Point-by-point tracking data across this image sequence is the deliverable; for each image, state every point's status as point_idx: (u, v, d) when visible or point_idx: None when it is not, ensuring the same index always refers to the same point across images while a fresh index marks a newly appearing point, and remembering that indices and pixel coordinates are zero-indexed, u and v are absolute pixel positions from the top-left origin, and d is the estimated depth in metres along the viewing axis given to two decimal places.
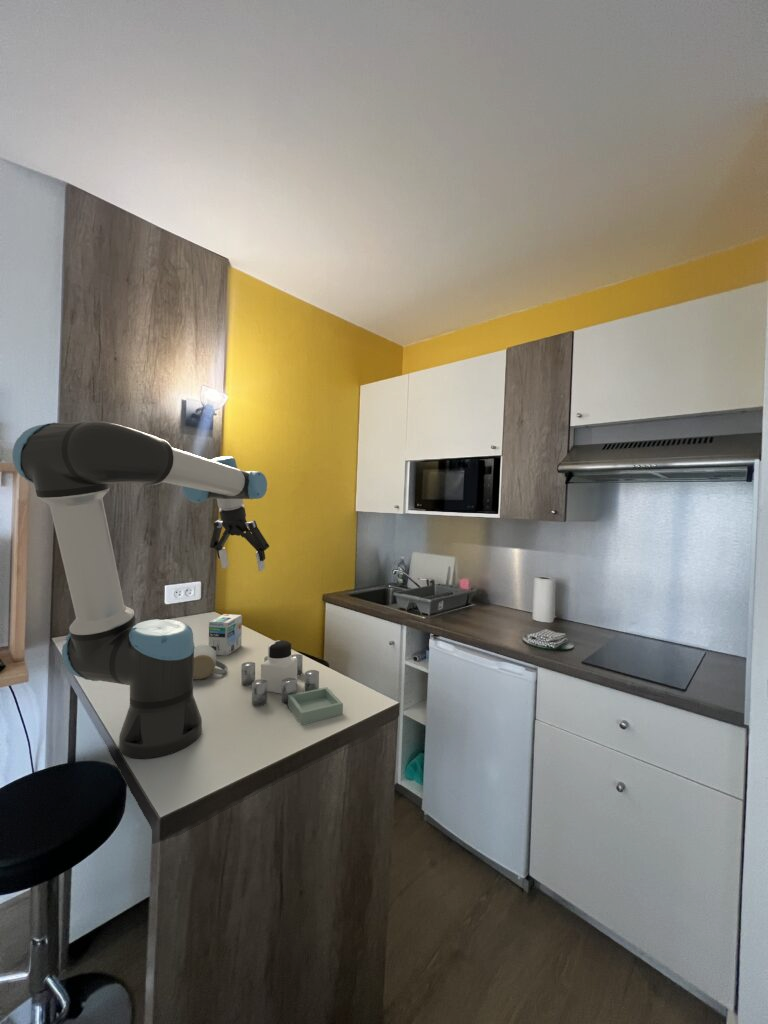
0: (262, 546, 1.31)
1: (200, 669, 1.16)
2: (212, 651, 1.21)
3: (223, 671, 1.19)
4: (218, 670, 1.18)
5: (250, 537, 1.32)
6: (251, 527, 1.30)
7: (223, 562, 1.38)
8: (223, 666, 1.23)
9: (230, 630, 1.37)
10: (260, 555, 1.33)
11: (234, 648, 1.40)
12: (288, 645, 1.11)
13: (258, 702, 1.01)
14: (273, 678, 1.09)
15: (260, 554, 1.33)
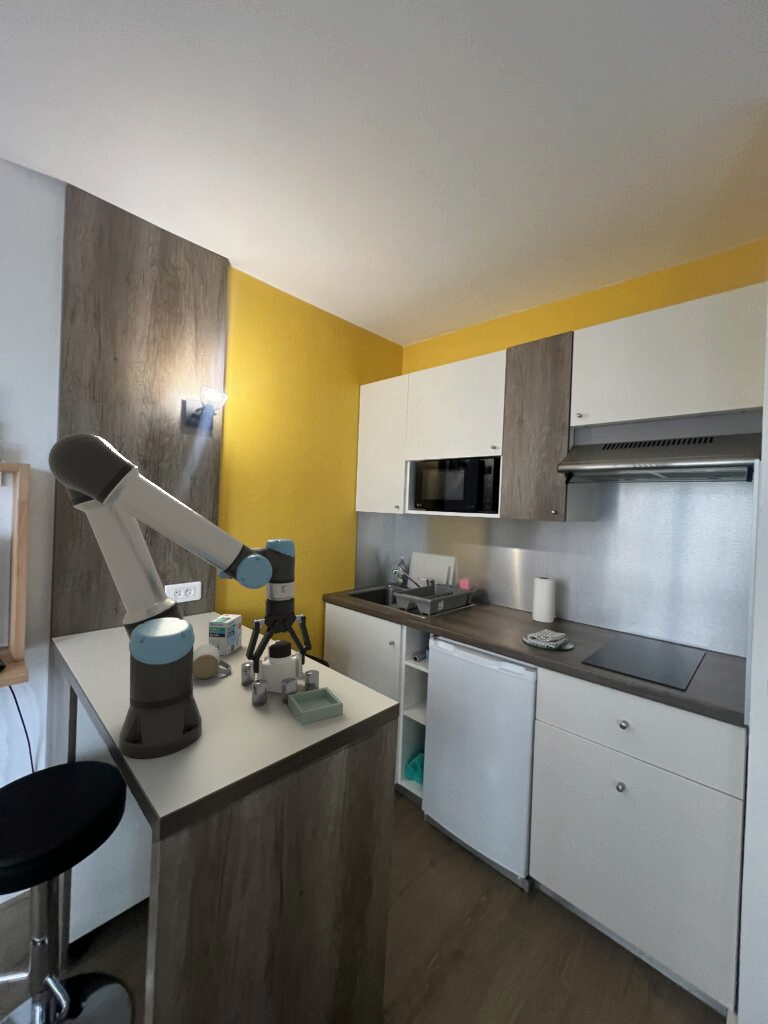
0: None
1: (204, 668, 1.16)
2: (216, 651, 1.22)
3: (227, 670, 1.20)
4: (222, 669, 1.19)
5: (263, 638, 1.10)
6: None
7: None
8: (227, 666, 1.23)
9: (230, 630, 1.37)
10: None
11: (234, 648, 1.40)
12: (288, 645, 1.11)
13: (258, 702, 1.01)
14: (273, 678, 1.09)
15: None
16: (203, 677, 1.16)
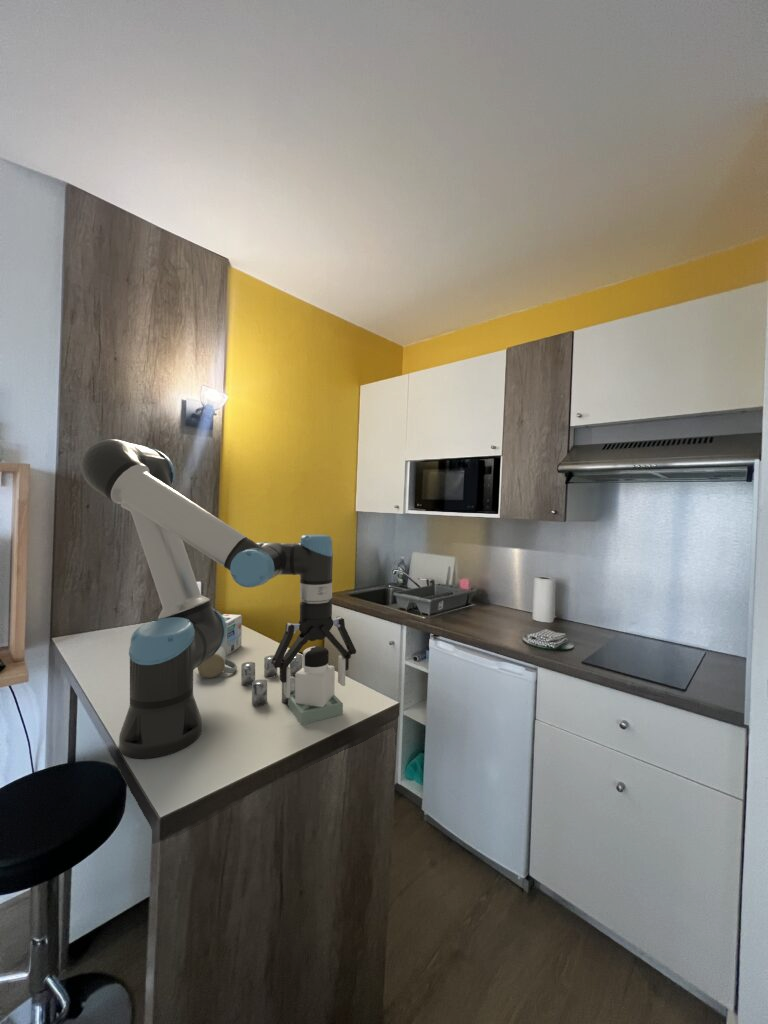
0: None
1: (210, 668, 1.17)
2: (222, 650, 1.22)
3: (233, 670, 1.20)
4: (228, 669, 1.19)
5: (294, 644, 0.98)
6: None
7: (338, 673, 1.04)
8: (233, 665, 1.24)
9: (230, 630, 1.37)
10: None
11: (234, 648, 1.40)
12: (325, 652, 0.99)
13: (258, 702, 1.01)
14: (310, 690, 0.96)
15: None
16: (209, 676, 1.17)
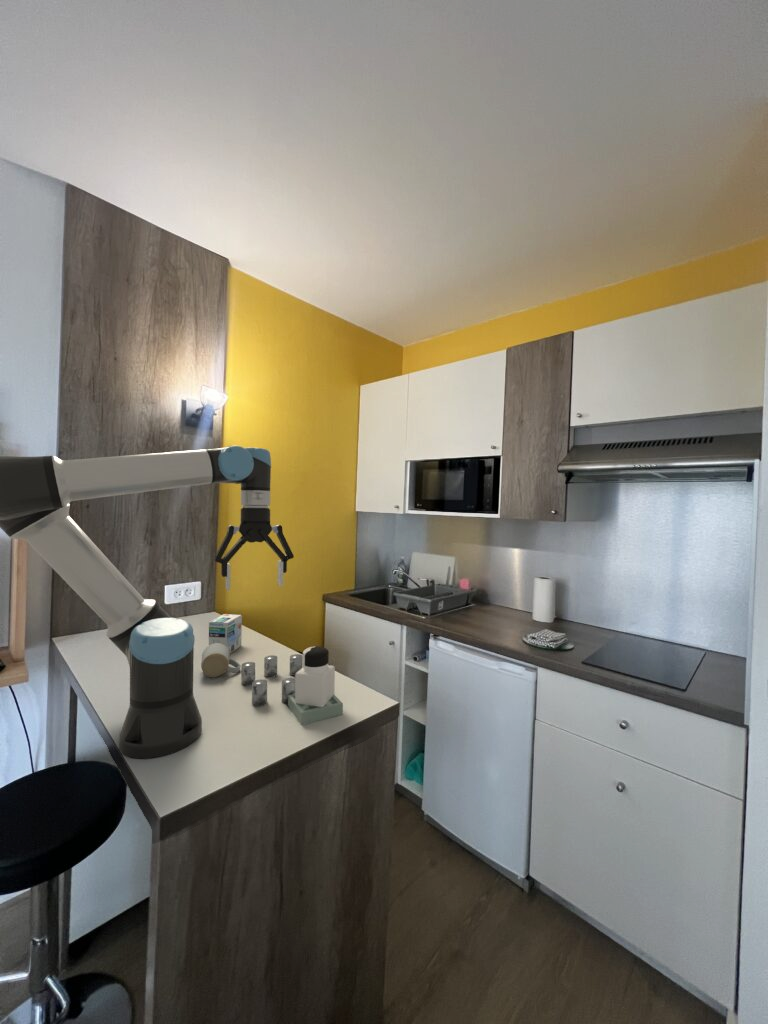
0: None
1: (213, 667, 1.17)
2: (225, 649, 1.23)
3: (236, 669, 1.21)
4: (231, 668, 1.20)
5: (235, 545, 1.09)
6: None
7: (278, 576, 1.16)
8: (236, 664, 1.24)
9: (230, 630, 1.37)
10: None
11: (234, 648, 1.40)
12: (325, 652, 0.99)
13: (258, 702, 1.01)
14: (310, 690, 0.96)
15: None
16: (213, 676, 1.17)
